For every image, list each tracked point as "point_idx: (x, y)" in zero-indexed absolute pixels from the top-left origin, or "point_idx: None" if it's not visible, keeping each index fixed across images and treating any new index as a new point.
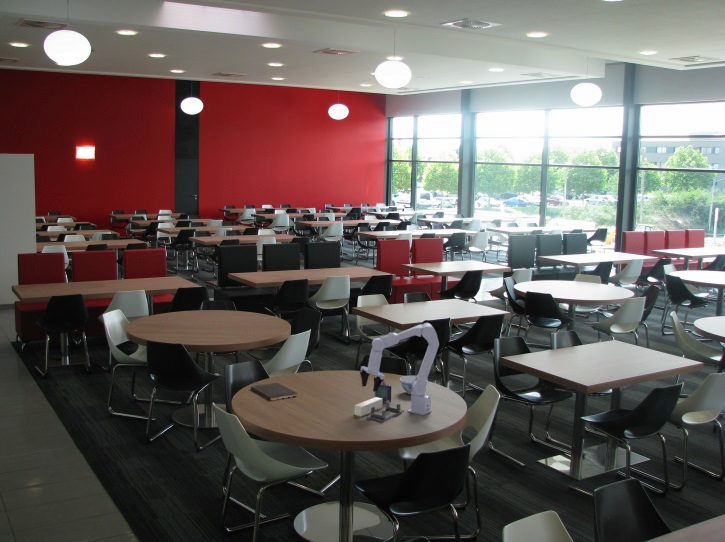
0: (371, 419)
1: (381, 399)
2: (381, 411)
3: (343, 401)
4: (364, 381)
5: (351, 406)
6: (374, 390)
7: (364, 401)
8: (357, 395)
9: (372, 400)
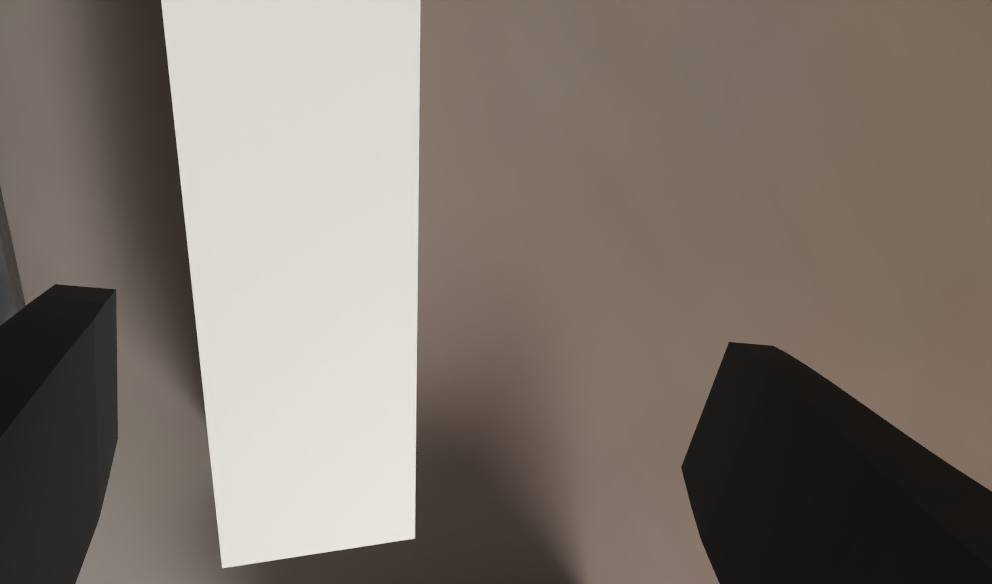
0: None
1: (217, 519)
2: None
3: (963, 207)
4: (817, 526)
5: (734, 76)
6: (22, 312)
7: (419, 72)
8: None
9: (307, 293)
